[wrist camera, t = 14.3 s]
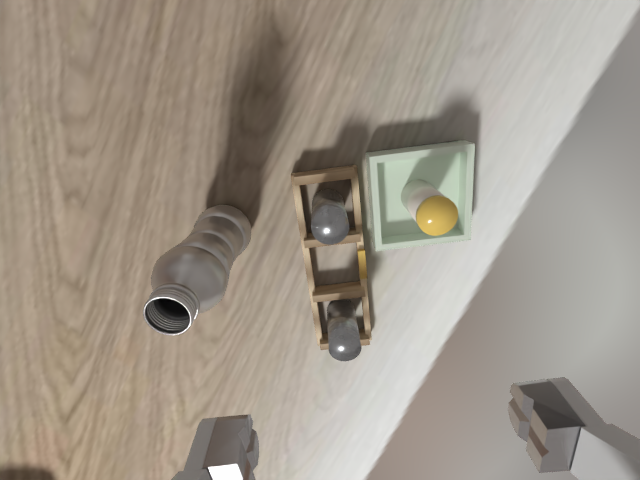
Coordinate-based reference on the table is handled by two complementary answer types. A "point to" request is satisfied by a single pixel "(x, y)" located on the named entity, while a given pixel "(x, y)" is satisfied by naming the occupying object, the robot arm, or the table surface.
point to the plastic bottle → (196, 270)
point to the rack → (353, 236)
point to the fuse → (429, 207)
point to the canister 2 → (343, 330)
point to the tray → (419, 164)
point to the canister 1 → (329, 217)
